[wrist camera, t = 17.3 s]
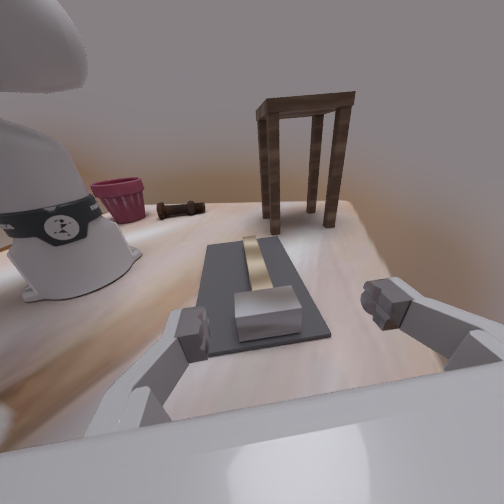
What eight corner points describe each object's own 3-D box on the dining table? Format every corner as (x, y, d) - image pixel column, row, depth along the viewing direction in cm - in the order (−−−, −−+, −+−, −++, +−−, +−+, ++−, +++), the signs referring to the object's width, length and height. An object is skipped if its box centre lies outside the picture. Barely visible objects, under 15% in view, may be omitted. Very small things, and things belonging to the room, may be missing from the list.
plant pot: (162, 212, 70) (149, 175, 64) (129, 227, 59) (111, 184, 53) (133, 211, 75) (119, 177, 69) (98, 225, 64) (78, 185, 57)
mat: (330, 336, 22) (331, 333, 21) (188, 360, 21) (186, 356, 20) (277, 238, 44) (277, 236, 44) (207, 247, 43) (207, 245, 43)
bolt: (206, 218, 67) (162, 222, 65) (205, 207, 69) (162, 211, 68) (203, 206, 62) (155, 210, 60) (203, 195, 64) (156, 199, 63)
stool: (335, 227, 47) (355, 91, 34) (271, 235, 46) (266, 98, 33) (313, 210, 59) (321, 105, 46) (262, 216, 58) (255, 110, 45)
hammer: (265, 234, 40) (266, 249, 41) (232, 238, 39) (234, 254, 41) (302, 307, 20) (301, 332, 21) (235, 317, 19) (239, 341, 21)
